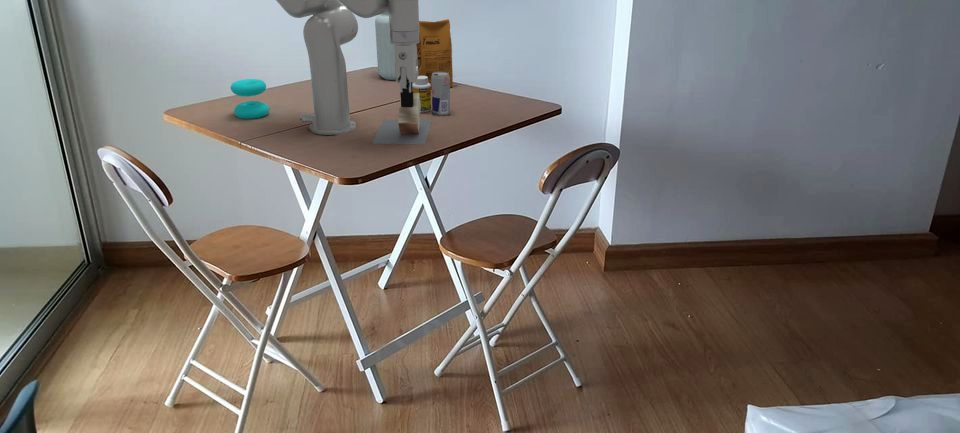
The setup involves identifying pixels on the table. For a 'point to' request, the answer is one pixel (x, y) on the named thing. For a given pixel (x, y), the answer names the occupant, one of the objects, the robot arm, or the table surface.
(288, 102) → the table surface
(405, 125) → the birch block
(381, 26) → the vase
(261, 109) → the donuts
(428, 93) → the supplement bottle
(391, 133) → the rubber mat
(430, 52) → the coffee package
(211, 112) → the table surface
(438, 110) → the energy drink
